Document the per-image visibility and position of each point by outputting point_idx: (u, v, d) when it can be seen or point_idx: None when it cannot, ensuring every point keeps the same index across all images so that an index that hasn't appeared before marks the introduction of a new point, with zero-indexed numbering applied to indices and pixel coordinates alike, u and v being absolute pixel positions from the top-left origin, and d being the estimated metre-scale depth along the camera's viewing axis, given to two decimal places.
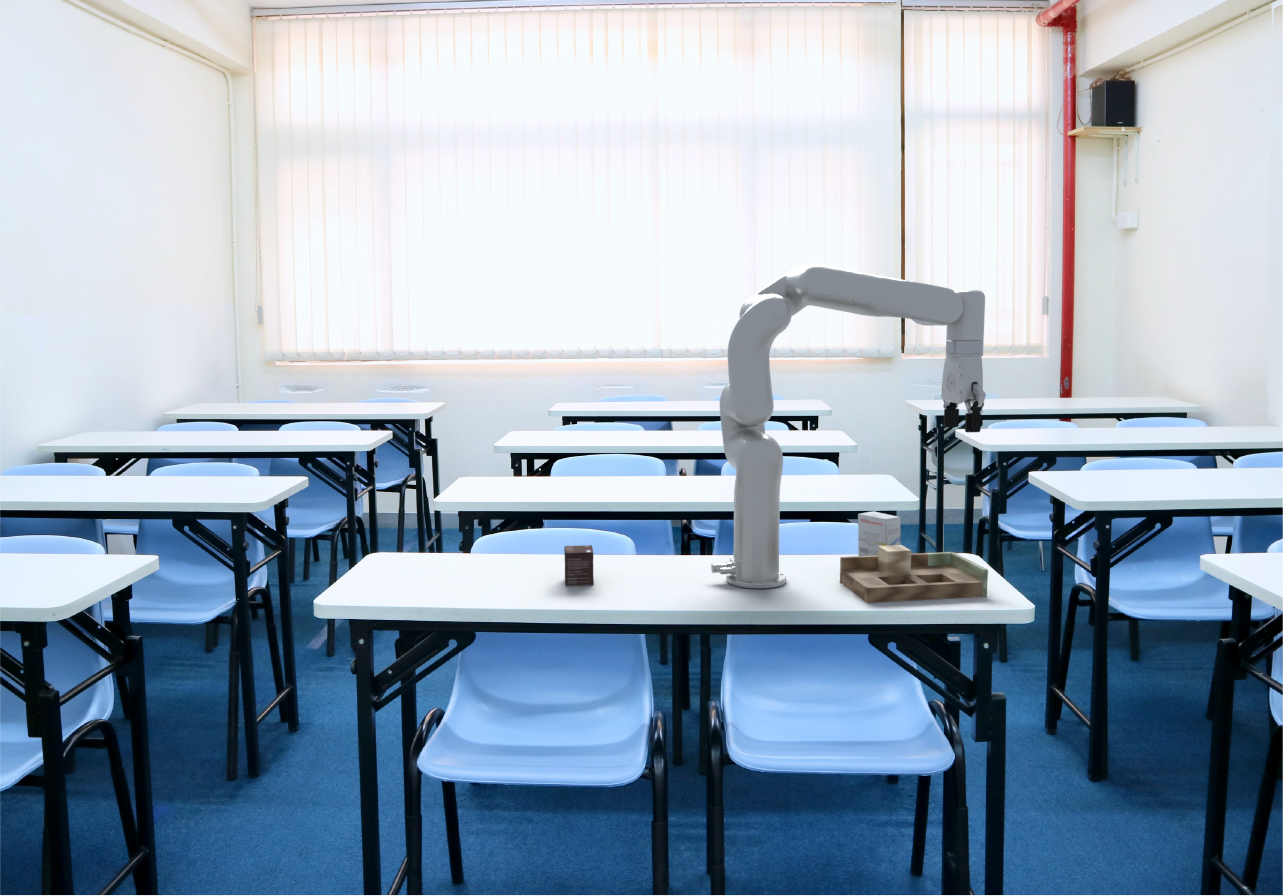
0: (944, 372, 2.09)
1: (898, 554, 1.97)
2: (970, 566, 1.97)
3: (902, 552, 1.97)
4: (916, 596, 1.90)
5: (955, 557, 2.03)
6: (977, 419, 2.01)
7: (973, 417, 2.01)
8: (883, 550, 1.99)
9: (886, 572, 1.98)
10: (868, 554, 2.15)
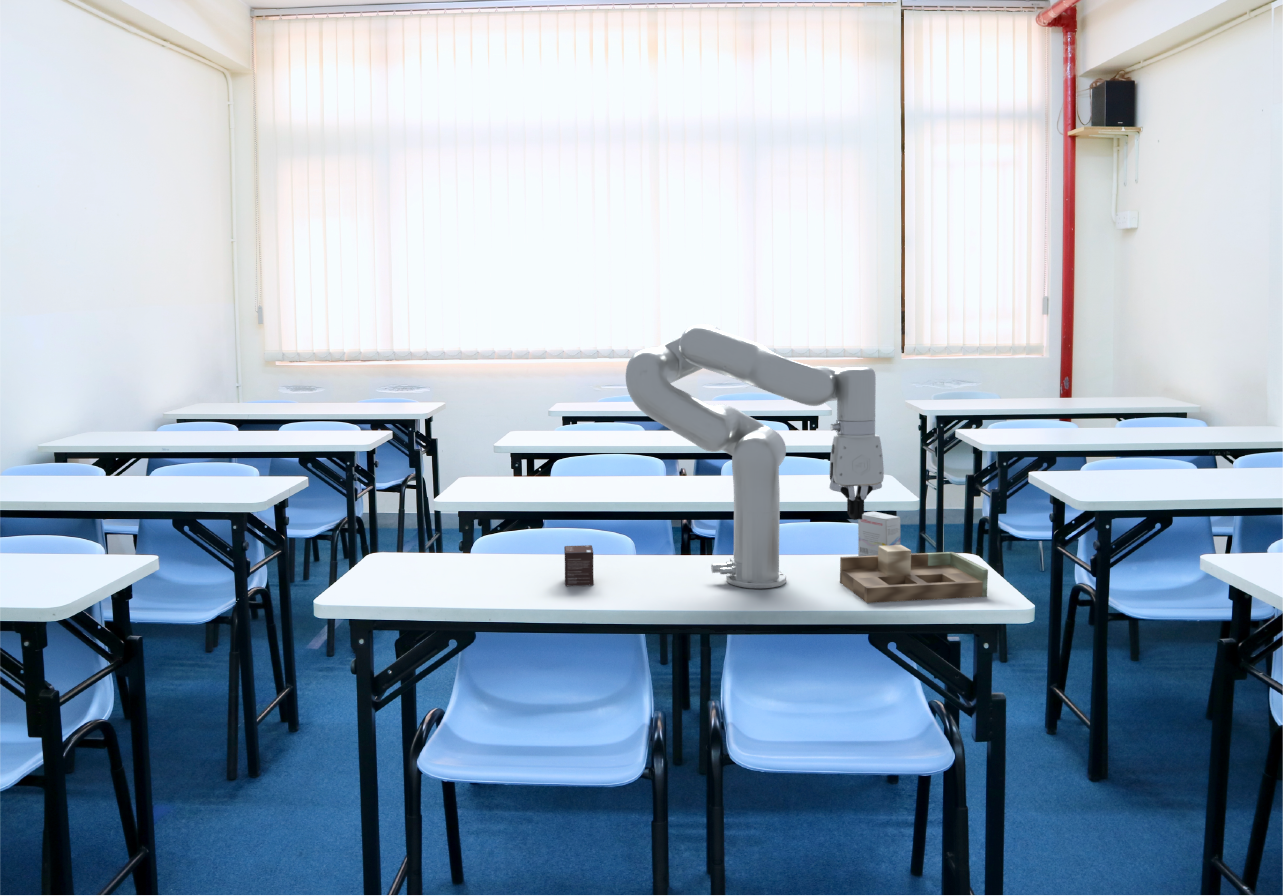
0: (843, 456, 1.93)
1: (898, 554, 1.97)
2: (970, 566, 1.97)
3: (902, 552, 1.97)
4: (916, 596, 1.90)
5: (955, 557, 2.03)
6: None
7: None
8: (883, 550, 1.99)
9: (886, 572, 1.98)
10: (868, 554, 2.15)
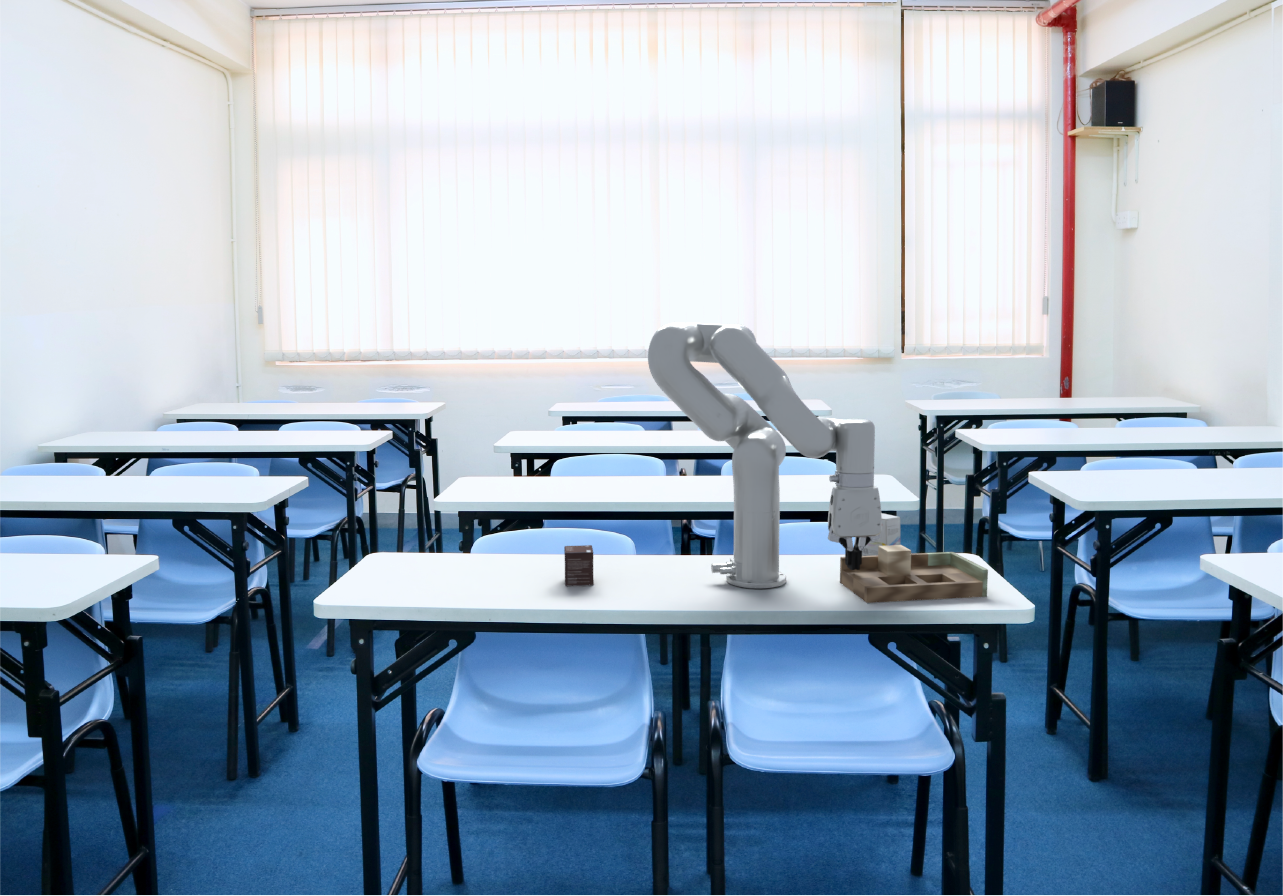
0: (842, 507, 1.94)
1: (898, 554, 1.97)
2: (970, 566, 1.97)
3: (902, 552, 1.97)
4: (916, 596, 1.90)
5: (955, 557, 2.03)
6: None
7: None
8: (883, 550, 1.99)
9: (886, 572, 1.98)
10: (868, 554, 2.15)
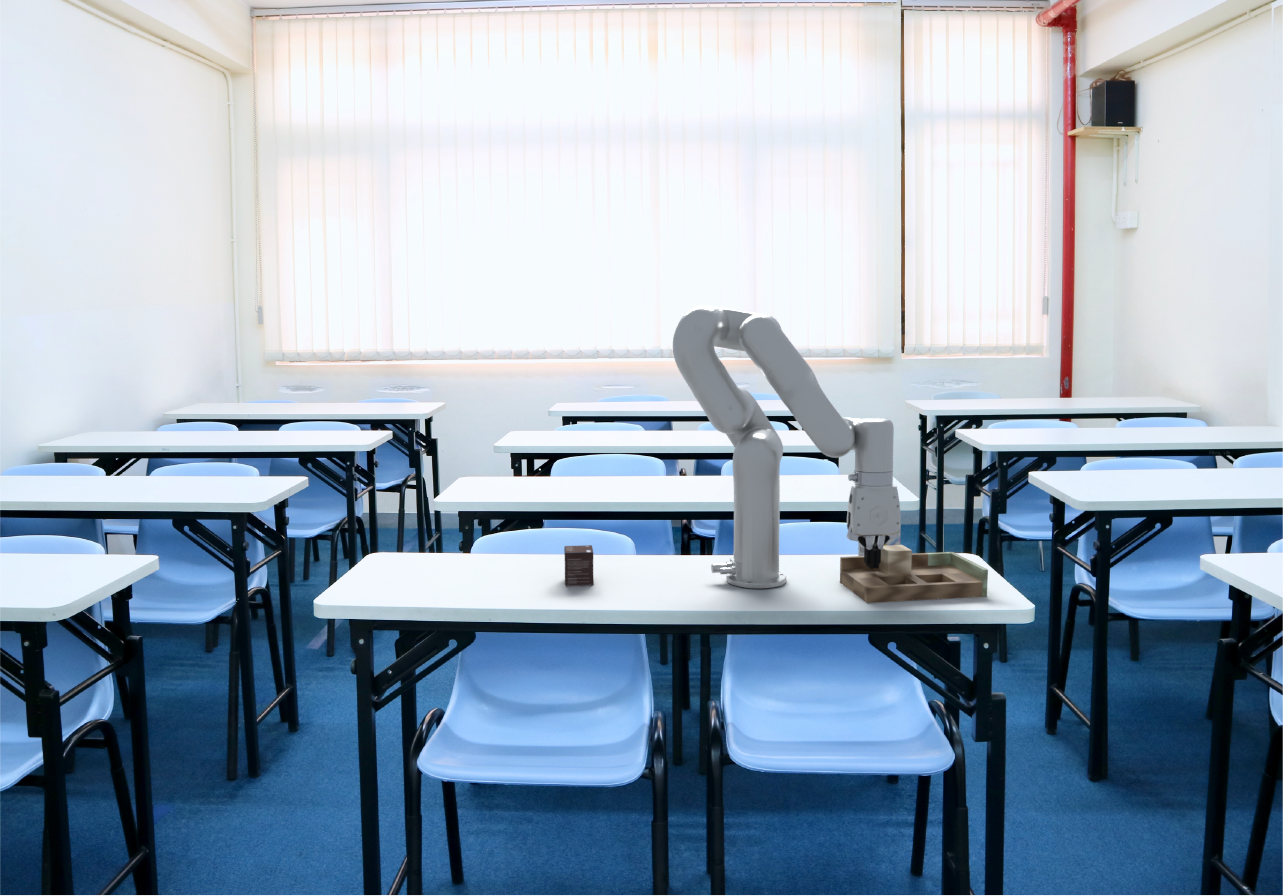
0: (861, 506, 1.95)
1: (899, 554, 1.97)
2: (970, 566, 1.97)
3: (903, 552, 1.97)
4: (916, 596, 1.90)
5: (955, 557, 2.03)
6: None
7: None
8: (884, 550, 1.99)
9: (887, 572, 1.98)
10: None
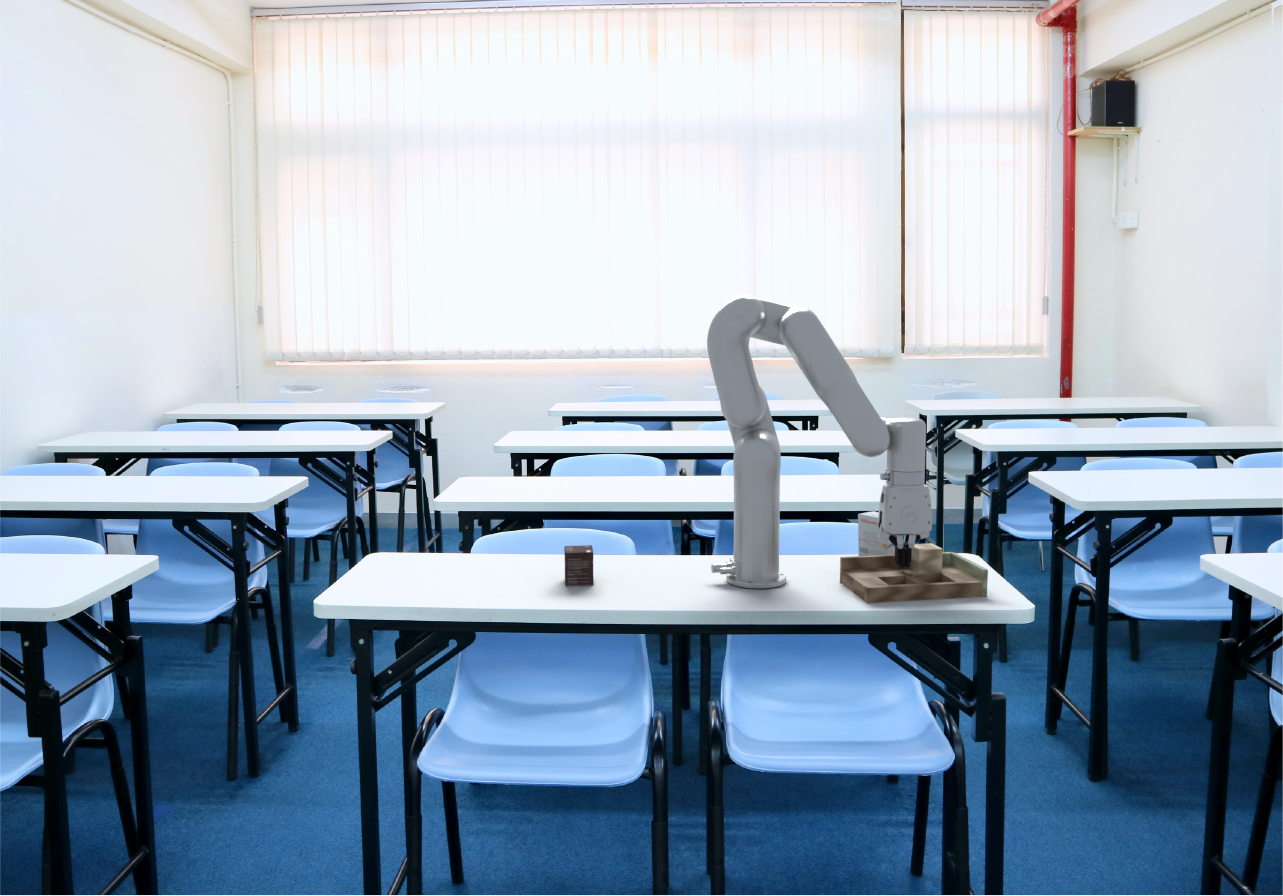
0: (893, 505, 1.96)
1: (930, 552, 1.98)
2: (970, 566, 1.97)
3: (934, 550, 1.98)
4: (916, 596, 1.90)
5: (955, 557, 2.03)
6: None
7: None
8: (914, 548, 2.00)
9: (917, 570, 1.99)
10: (868, 554, 2.15)
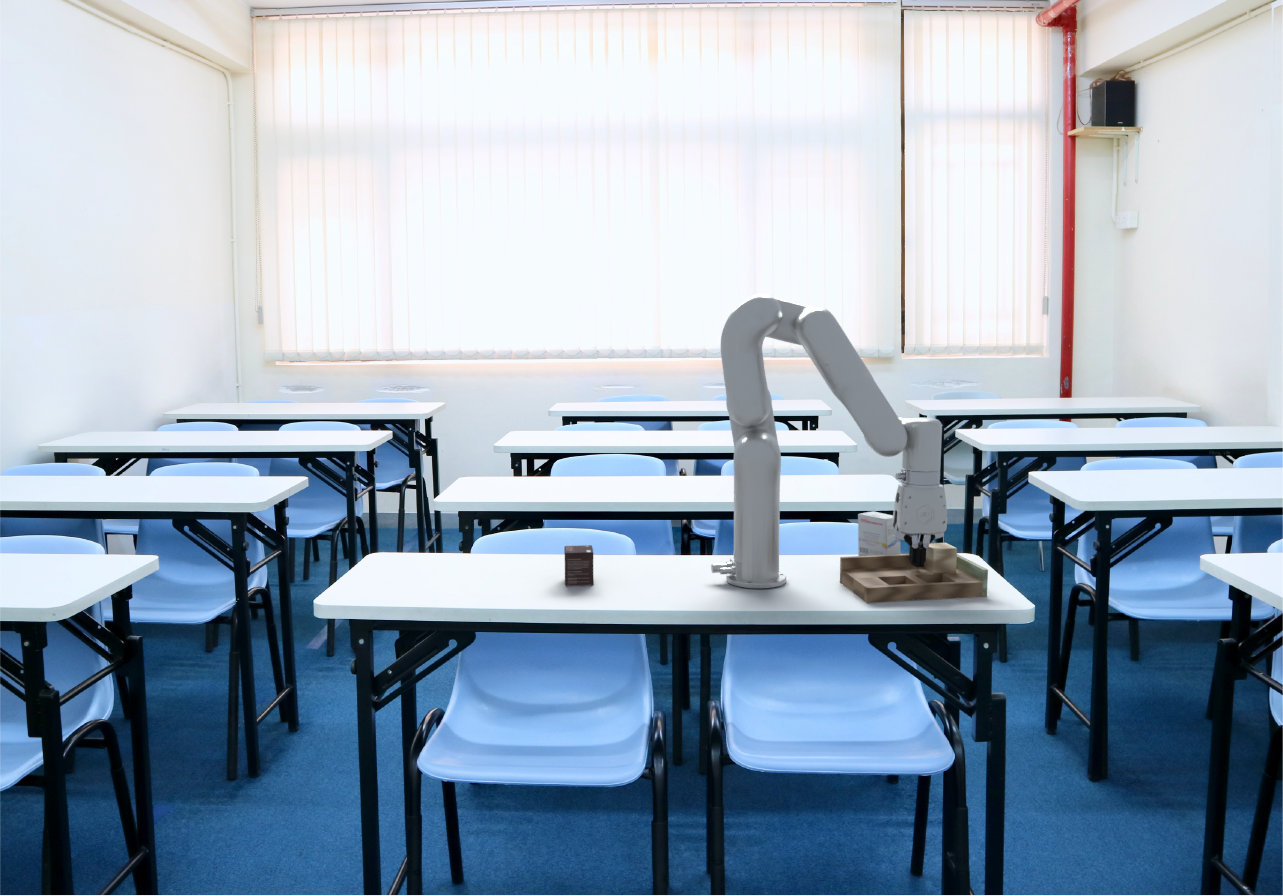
0: (908, 505, 1.96)
1: (944, 551, 1.99)
2: (970, 566, 1.97)
3: (948, 550, 1.99)
4: (916, 596, 1.90)
5: None
6: None
7: None
8: (929, 548, 2.01)
9: (932, 570, 1.99)
10: (868, 554, 2.15)
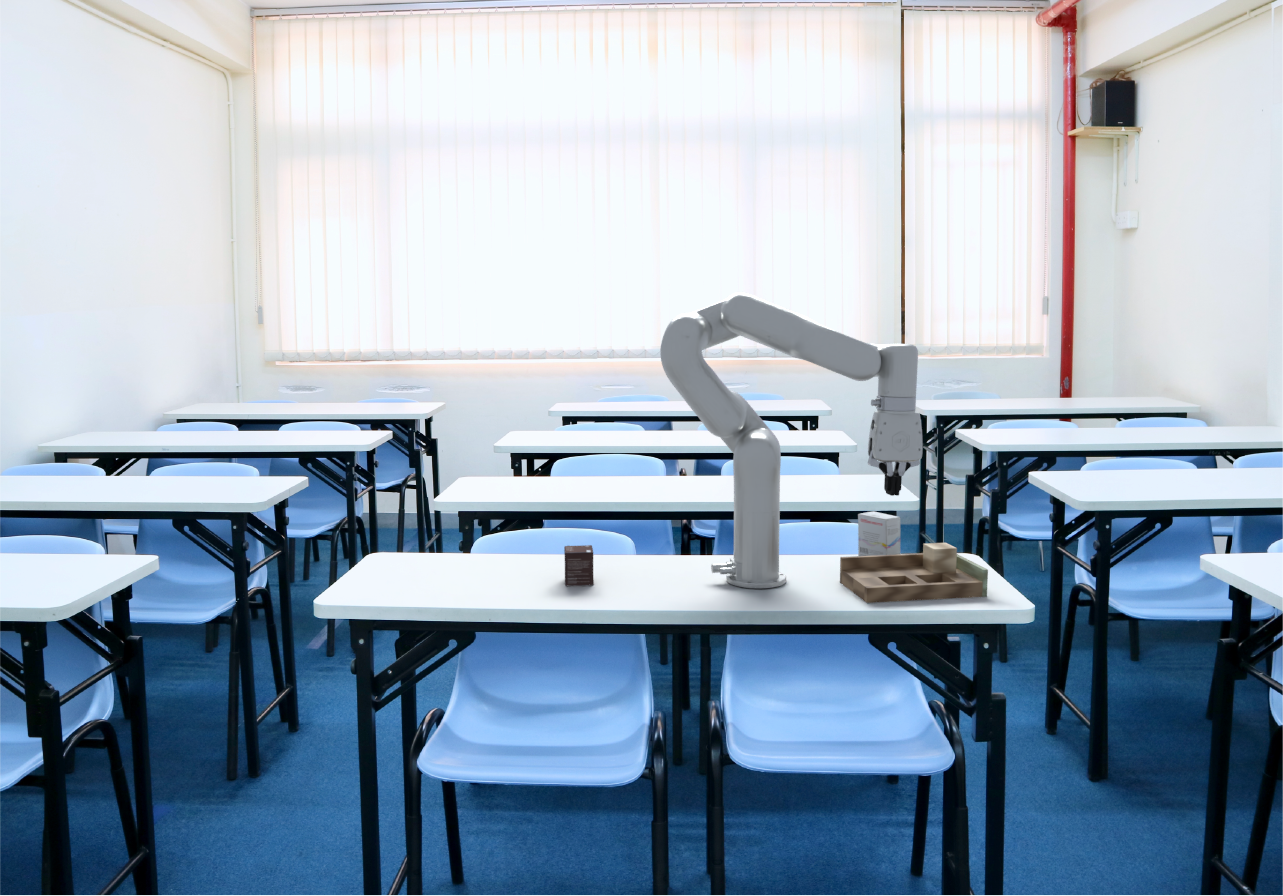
0: (883, 431, 1.94)
1: (944, 551, 1.99)
2: (970, 566, 1.97)
3: (948, 550, 1.99)
4: (916, 596, 1.90)
5: None
6: None
7: None
8: (929, 548, 2.01)
9: (932, 570, 1.99)
10: (868, 554, 2.15)
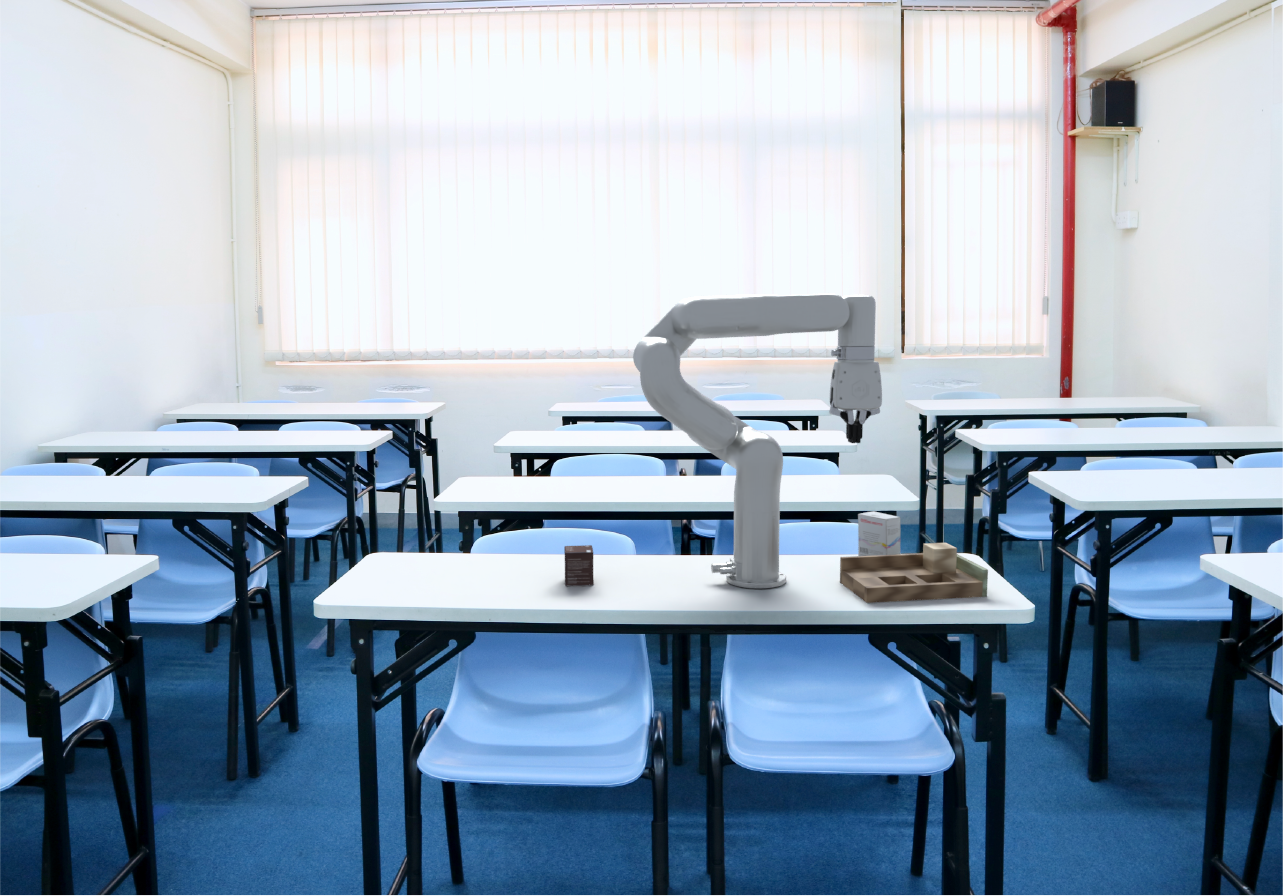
0: (843, 380, 1.99)
1: (944, 551, 1.99)
2: (970, 566, 1.97)
3: (948, 550, 1.99)
4: (916, 596, 1.90)
5: None
6: None
7: None
8: (929, 548, 2.01)
9: (932, 570, 1.99)
10: (868, 554, 2.15)
